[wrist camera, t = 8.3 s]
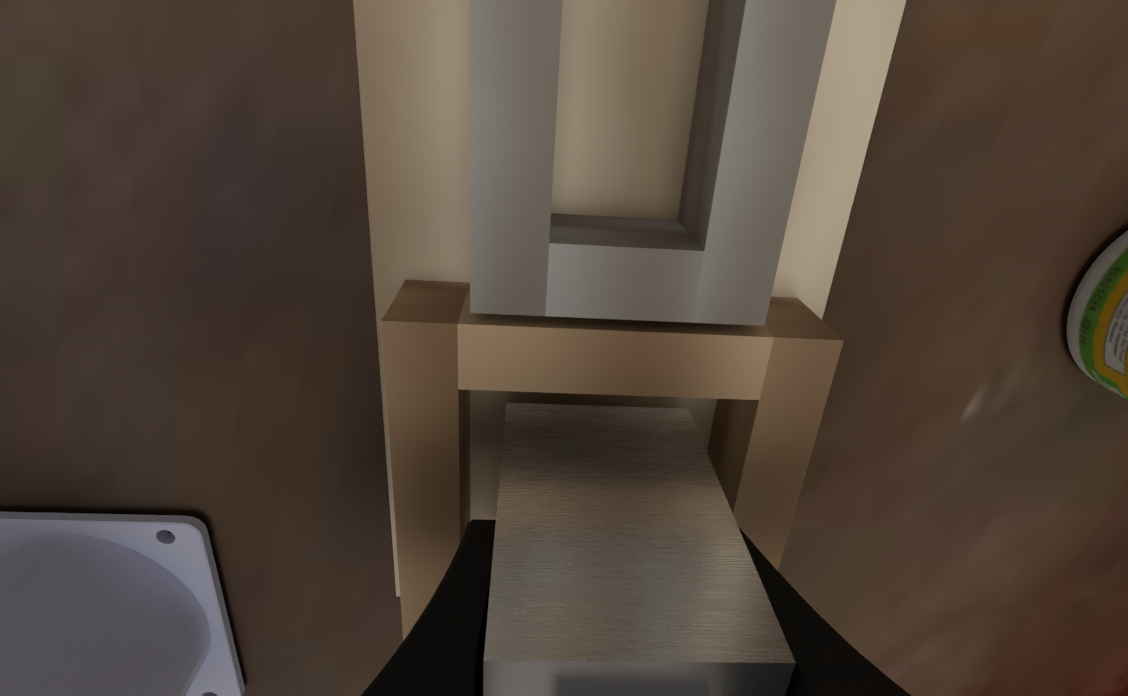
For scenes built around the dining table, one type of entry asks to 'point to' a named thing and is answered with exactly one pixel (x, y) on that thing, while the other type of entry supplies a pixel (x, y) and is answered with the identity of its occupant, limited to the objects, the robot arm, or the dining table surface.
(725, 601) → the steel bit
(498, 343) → the socket board
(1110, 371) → the supplement bottle
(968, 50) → the dining table surface
